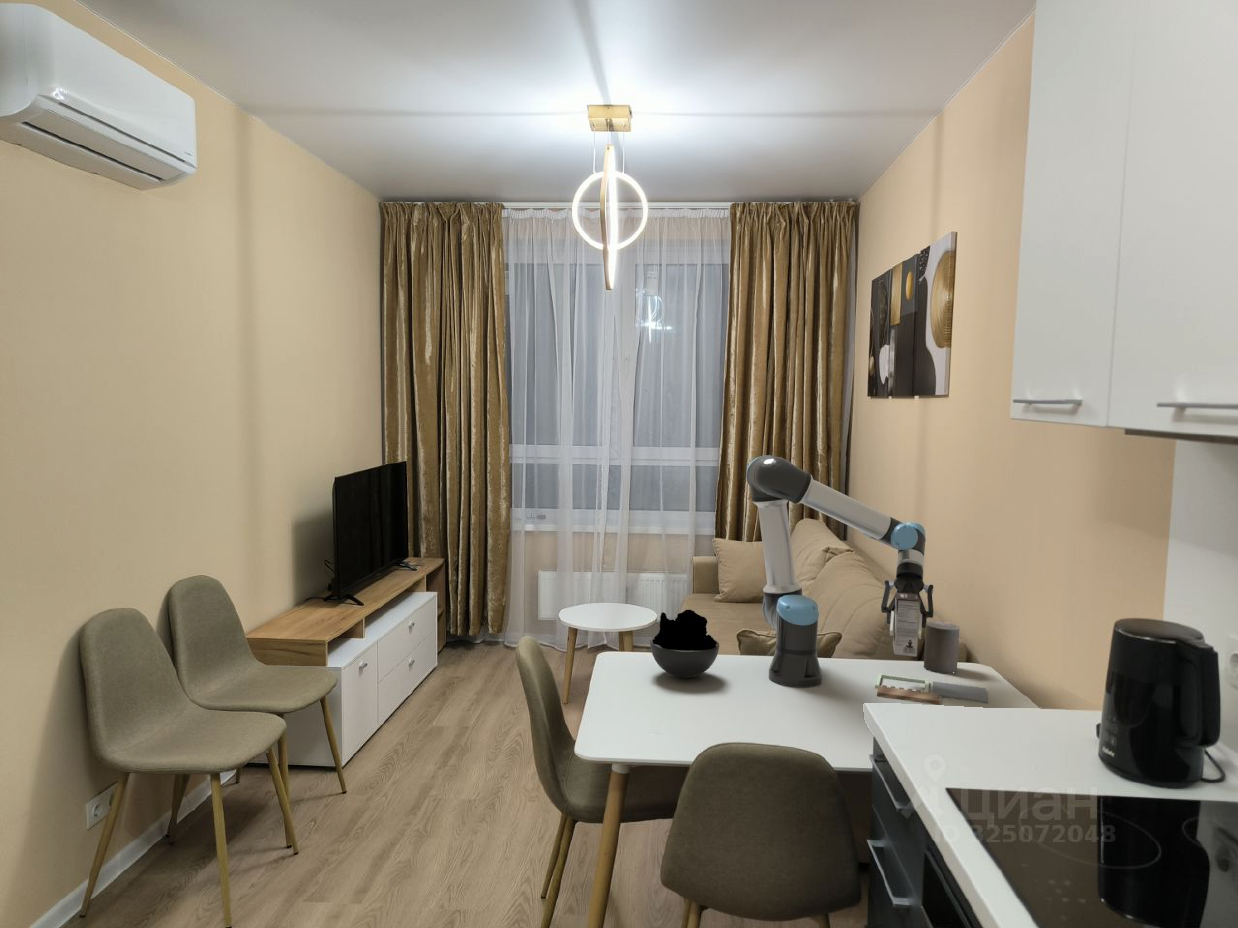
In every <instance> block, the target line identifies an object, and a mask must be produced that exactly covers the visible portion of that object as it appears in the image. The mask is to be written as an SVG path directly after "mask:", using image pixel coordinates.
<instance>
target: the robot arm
mask: <svg viewBox="0 0 1238 928" xmlns="http://www.w3.org/2000/svg"><path fill="white" fill-rule="evenodd" d="M746 469H747V470H746V474H745V478H746V481H747V485H748V486H749V487H750V494H751V495H750V496H751V502H752V503H753V504H754V505H755V506H757V510H758V518H759V526H760V527H759V528H760V534H761V542H762V550H763V559H764V566H765V567H764V568H765V576H766V584H765V586H764V587H763V591H762V592H763V600H762V601H763V602H762V613H763V617H764V618H765V620H766V622H767V623H768V624H769V625H770V626H771V627H772V628H773V629H774V630H775V631H776V634H775V635H776V636H775V652H774V655H773V657H772V660H771V663H770V665H769V668H768V678H769V679H770V681H772V682H773V683H777V684H780V685H783V686H789V687H794V688H795V687H796V688H807V687H808V688H809V687H816V686H819V685H820V684H822V682H823V672H822V669H821V666H820V662H819V658H818V654H817V653H818V652H817V651H818V648H817V647H818V631H819V629H818V628H819V627H818V626H819V617H820V616H819V615H820V612H819V605H818V603H817V602H816V601H815V600H814V599H813V598H811V597H807V596H805V595H803V590H802V589H803V588H802V585H801V584H800V583H799V582H798V581H797V580H796V572H795V565H794V556H793V549H792V539H791V533H790V532H791V531H790V524H789V523H790V522H789V516H788V515H789V514H788V506H787V504H788V502H790V503H793V504H795V505H800V504H802V505H804V506H807V507H809V508H811V509H813V510H815V511H817V512H819V513H822V514H824V515H825V516H828V517H830V518H831V519H834V520H836V521H839V522H840V523H843V524H844V525H847V526H849V527H851V528H853V529H856V530H858V531H859V532H861V533H862V534H863V535H865V537H868V538H869V539H873V540H874V541H877V542H880V543H882V544H884V545H886V546H889V547H891V548H893V549H895V550H897V558H896V559H897V562H896V563H897V564H896V571H895V572H896V573H895V579H894V580H893V581H889V580H884V592H883V596H882V597H883V598H882V600H881V604H880V612H881V613H883V614H884V613H885V614H886V624H888V625H889V636H891V637H893V630H894V611H895V595H894V596H893V598H892V600H891V601H890V603H889V598H890V593H891V592H890V591H891V590H892V589H893V587H894V588H895V589H896V593H909V594H918V595H919V598H920V614H919V629H918V640H921V639H922V630H923V629H926V623H927V619H928V618H930V619H933V618H934V601H933V593H934V585H933V584H929V585H928V584H925V582H924V565H925V551H926V549H925V547H926V539H927V538H926V530H925V527H924V526H923V525H922V524H920V523H918V522H912V521H908V522H902V521H900V520H898V519H895V518H894V517H892V516H890V515H887V514H886V513H884V512H882V511H879V510H878V509H876V508H873V507H871V506H870V505H867V504H865V503H863V502H861V501H858V500H857V499H854V498H853V497H850V496H849V495H846V494H844V493H842V492H840V491H838V490H836V489H834V488H832V487H830V486H828V485H826V484H823V483H822V482H819V481H818V480H816V479H815V480H814V478H813V474H811V473H809V472H806V471H805V470H804V469H801V468H800V467H798V466H796V465H795V464H793V463H792V462H790V461H789V460H787V459H785V458H783V457H780V456H774V455H772V454H768V455H761V456H758V457H756V458H754V459H753V460H752V461H751V462H750V463H749V464H748V466H747V468H746ZM923 590H924V591H925V594H926V595H927V596H926V598H927V599H926V600H927V610H926V606H925V604H924V602H923V599H922V596H921V595H920V593H921V592H922V591H923ZM888 603H889V605H888ZM922 628H923V629H922Z"/></svg>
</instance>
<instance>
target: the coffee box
mask: <svg viewBox="0 0 1238 928" xmlns="http://www.w3.org/2000/svg"><path fill="white" fill-rule="evenodd" d="M894 596H895V610H894V626H893V636H892V649H893V654H894V655H899V656H907V657H908V656H909V657H918V645H919V644H918V641H919V639H918V629H919V614H921V613H920V598H919V595H918V594H909V593H897V592H895V594H894Z"/></svg>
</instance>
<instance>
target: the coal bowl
mask: <svg viewBox="0 0 1238 928" xmlns="http://www.w3.org/2000/svg"><path fill="white" fill-rule="evenodd" d="M667 617H668V616H667V614H666V612H663V611H662V612H661V613H660V617H659V618H660V619H659V630H658V633H657V634H656V635H655V636H654V637H652V638H651V639H650V641H649V646H650V647H649V648H650V650H651V655H652V656H653V659H654V661H655V663H656V664H657V665H658V666H659V668H660V669H662V670H663V671H664V672H665V673H668V674H669V675H671V676H674V677H677V678H682V679H683V678H684V679H688V678H694V677H697V676H700V675H701V674H703V673H705V672H706V671H707V670H708V669H710V668H711V667H712V665H713V664H714V662H716V661H715V660H716V658H717V657H718V654H719V650H720V643H719V642H718V641H717V640H716V639H714V638H713V636H711V634H707V633H708V631H707V624H708V619H707V618H706V617H705V616H702V615H700V614H698V613H697V612H695V610H692V609H685V610H683V611H681V612H680V613H677V614H676V617H675V619H673V618H672V619H669V618H667Z"/></svg>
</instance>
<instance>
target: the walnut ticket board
mask: <svg viewBox="0 0 1238 928" xmlns="http://www.w3.org/2000/svg"><path fill="white" fill-rule="evenodd" d="M876 696H877V697H881V698H890V699H891V698H892V699H896V700H902V701H904V700H905V701H910V702H917V703H918V702H919V703H925V704H931V705H938V704H939V705H938V706H940V705H941V697H940V694H934V693H932V692H928V693H926V692H924V691H921V692H919V691H916V690H913V689H912V690H908V689H905V688H904V689H899V687H898V688H897V687H895V688H891V686H890V687H889V686H887V687H883V686H882V685H880V686H878V688H877V690H876Z"/></svg>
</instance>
